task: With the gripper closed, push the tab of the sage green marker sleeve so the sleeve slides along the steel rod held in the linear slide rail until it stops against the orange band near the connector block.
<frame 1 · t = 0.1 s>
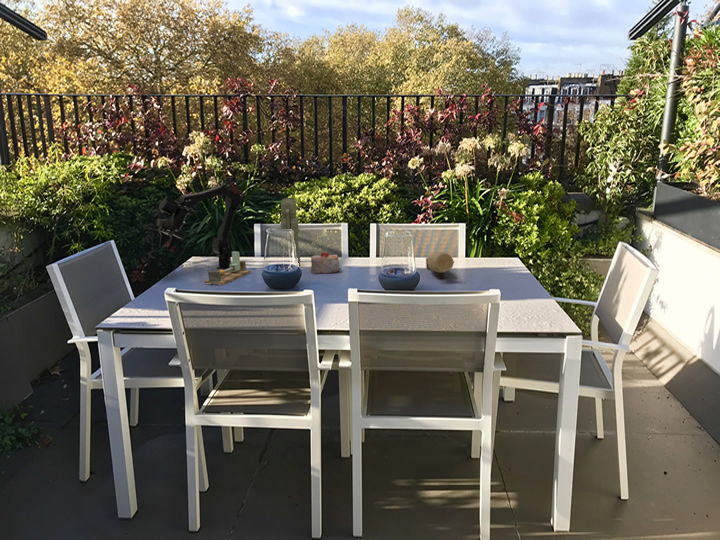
hand: (164, 248, 287), 15 cm above the table, tool tilted 35°, fingers open, 9 cm apart
linear slide rail: (228, 278, 288), on the table
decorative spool: (439, 275, 284), on the table
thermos: (291, 266, 310), on the table
food item: (325, 272, 296), on the table
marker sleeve: (234, 261, 292), point 7 cm above the table, slide at 0.0 cm
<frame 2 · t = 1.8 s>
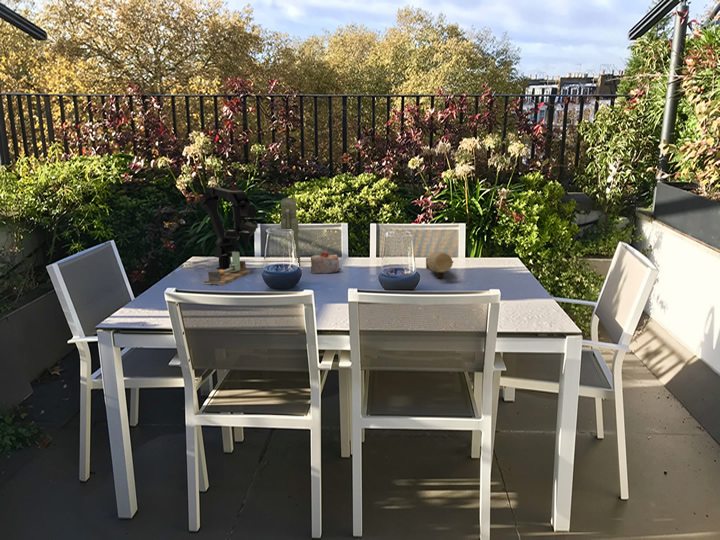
hand: (241, 248, 298), 12 cm above the table, tool pointing down, fingers open, 9 cm apart
nothing on the table moved.
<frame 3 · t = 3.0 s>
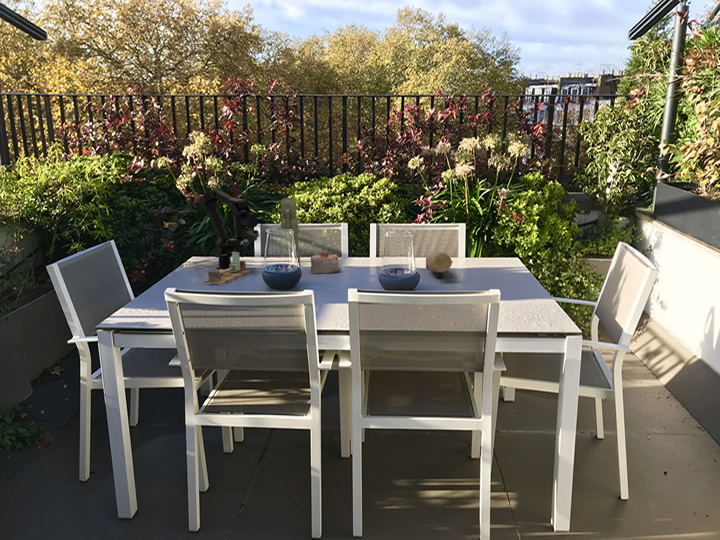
hand: (242, 256, 299), 8 cm above the table, tool pointing down, fingers closed
nothing on the table moved.
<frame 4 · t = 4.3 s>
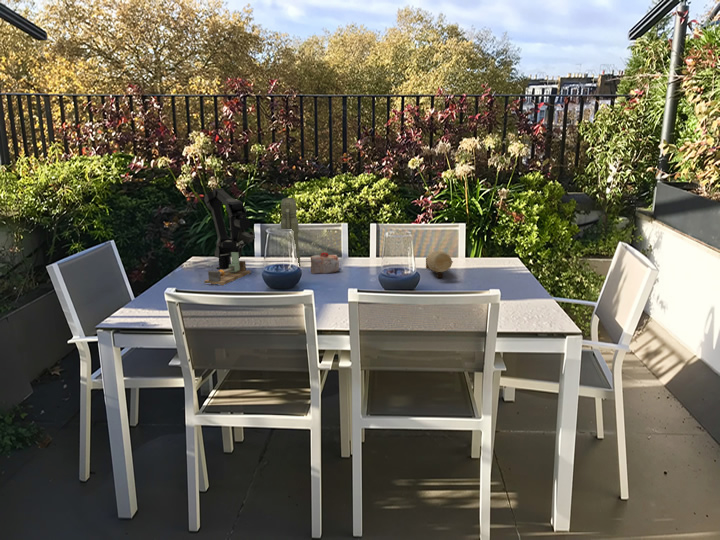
hand: (238, 258, 295), 8 cm above the table, tool pointing down, fingers closed
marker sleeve: (233, 261, 292), point 7 cm above the table, slide at 0.6 cm, touching gripper
everything else where it was.
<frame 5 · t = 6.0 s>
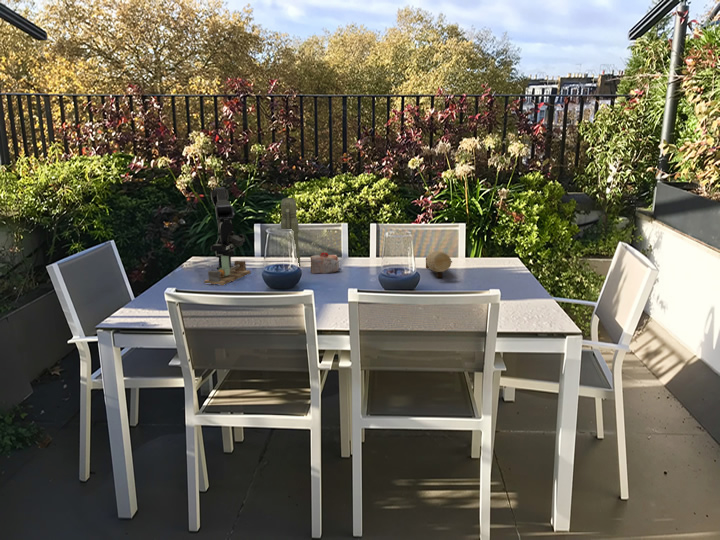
hand: (228, 262, 287), 8 cm above the table, tool pointing down, fingers closed
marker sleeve: (223, 265, 284), point 7 cm above the table, slide at 9.3 cm, touching gripper
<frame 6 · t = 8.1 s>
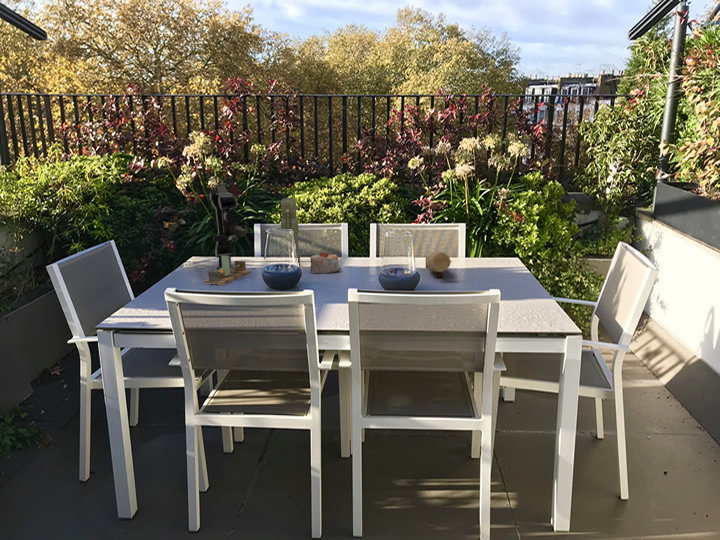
hand: (231, 253, 289), 12 cm above the table, tool pointing down, fingers closed
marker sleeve: (224, 265, 284), point 7 cm above the table, slide at 9.1 cm
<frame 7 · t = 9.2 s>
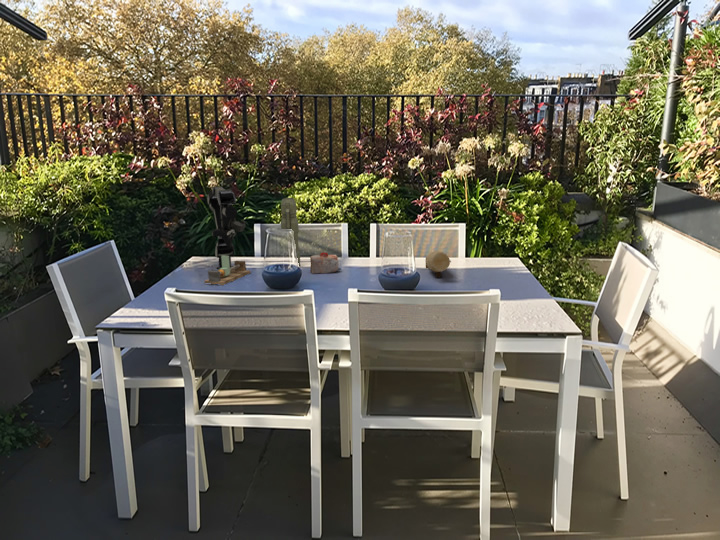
hand: (229, 247, 294), 13 cm above the table, tool pointing down, fingers closed
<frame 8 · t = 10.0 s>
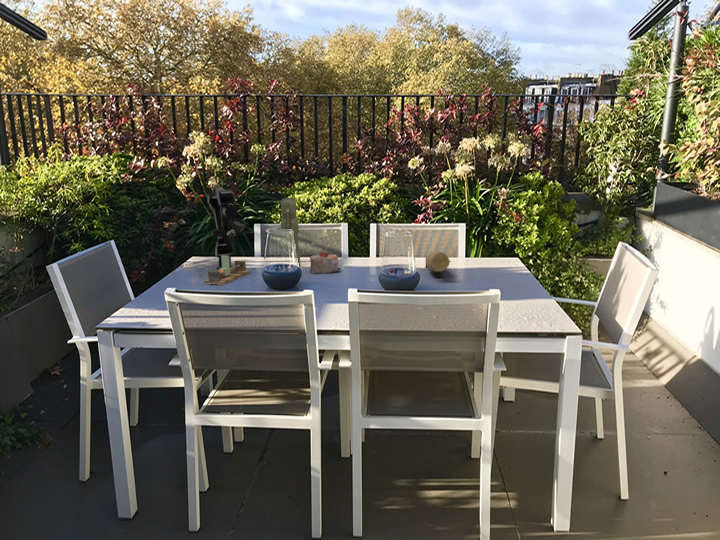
hand: (229, 247, 294), 13 cm above the table, tool pointing down, fingers closed
at the end: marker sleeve slide at 9.1 cm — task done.
